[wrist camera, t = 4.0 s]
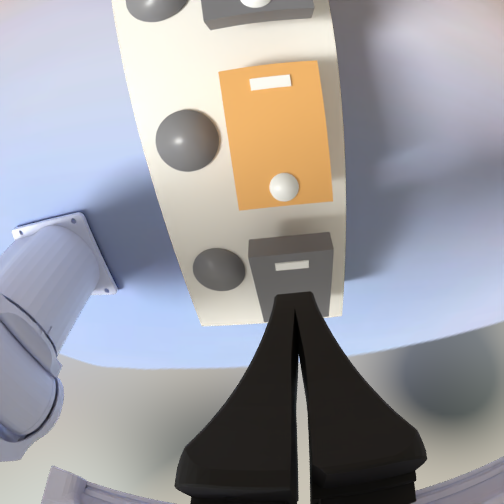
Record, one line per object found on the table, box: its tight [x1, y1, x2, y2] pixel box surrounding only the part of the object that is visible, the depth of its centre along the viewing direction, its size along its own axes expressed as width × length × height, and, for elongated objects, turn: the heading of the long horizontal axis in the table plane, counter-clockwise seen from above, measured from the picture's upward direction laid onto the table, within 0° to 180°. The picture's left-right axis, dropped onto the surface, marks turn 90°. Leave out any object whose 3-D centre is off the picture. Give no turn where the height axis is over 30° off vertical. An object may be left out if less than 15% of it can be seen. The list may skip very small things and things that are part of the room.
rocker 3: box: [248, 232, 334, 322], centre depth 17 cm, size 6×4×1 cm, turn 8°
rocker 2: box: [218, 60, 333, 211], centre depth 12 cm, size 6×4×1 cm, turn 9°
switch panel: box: [111, 0, 346, 326], centre depth 16 cm, size 31×10×4 cm, turn 9°
